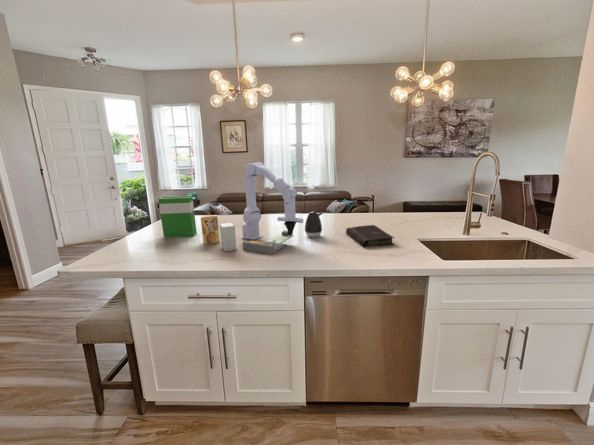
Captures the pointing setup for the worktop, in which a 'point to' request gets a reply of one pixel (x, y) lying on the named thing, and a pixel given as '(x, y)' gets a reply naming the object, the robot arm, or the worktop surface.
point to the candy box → (210, 229)
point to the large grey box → (262, 247)
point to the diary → (369, 236)
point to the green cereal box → (177, 216)
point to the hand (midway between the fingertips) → (290, 234)
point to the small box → (228, 236)
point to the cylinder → (259, 242)
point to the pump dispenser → (313, 224)
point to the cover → (280, 238)
